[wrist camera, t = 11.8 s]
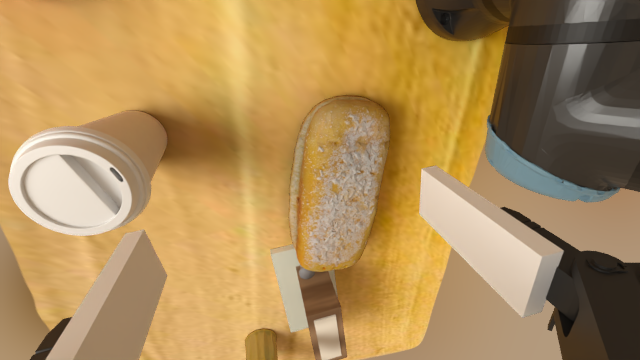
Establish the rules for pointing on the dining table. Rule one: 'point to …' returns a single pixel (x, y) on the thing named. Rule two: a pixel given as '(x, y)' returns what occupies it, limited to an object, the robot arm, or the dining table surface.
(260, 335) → the vase
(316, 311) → the brown block
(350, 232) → the bread
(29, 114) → the dining table surface
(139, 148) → the coffee cup
